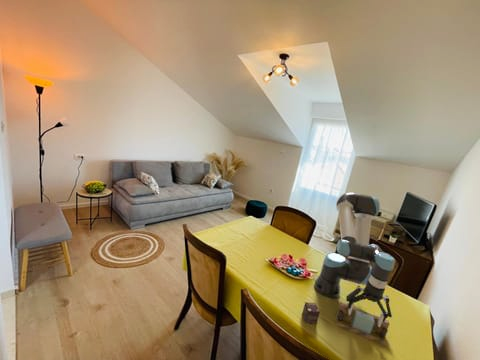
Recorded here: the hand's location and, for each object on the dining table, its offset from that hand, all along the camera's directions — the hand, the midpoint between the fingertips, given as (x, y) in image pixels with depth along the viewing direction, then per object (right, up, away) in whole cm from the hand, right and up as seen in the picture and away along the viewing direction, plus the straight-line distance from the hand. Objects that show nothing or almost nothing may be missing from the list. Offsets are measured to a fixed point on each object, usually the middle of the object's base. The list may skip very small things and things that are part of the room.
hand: (363, 318), depth 115 cm
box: (-27, -2, +3) cm, 27 cm away
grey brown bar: (-1, -6, +2) cm, 7 cm away
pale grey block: (-1, -6, +1) cm, 7 cm away
